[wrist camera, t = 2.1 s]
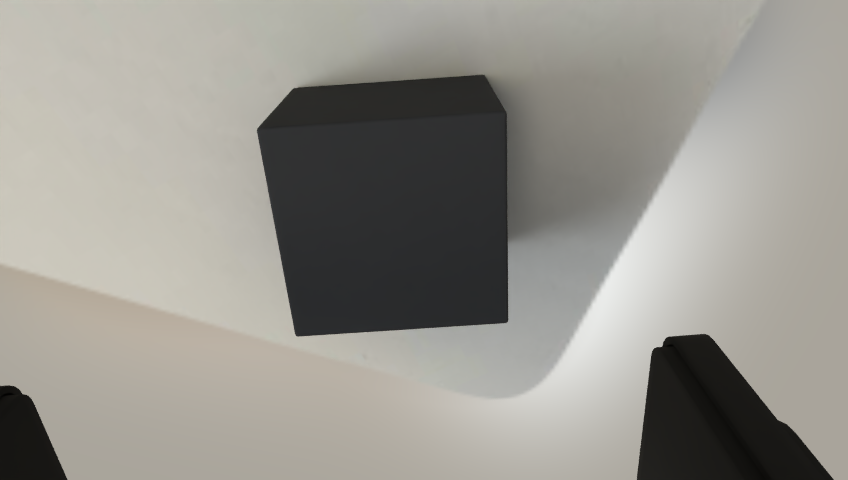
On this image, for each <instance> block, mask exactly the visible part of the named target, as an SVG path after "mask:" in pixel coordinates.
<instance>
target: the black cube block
mask: <svg viewBox="0 0 848 480" xmlns="http://www.w3.org/2000/svg"><path fill="white" fill-rule="evenodd" d="M257 133H258V139H259V144H260V149H261V155H262V160H263V165H264V170H265V176H266V181H267V186H268V192H269V197H270V202H271V208H272V213H273V218H274V224H275V229H276V234H277V240H278V245H279V250H280V255H281V261H282V266H283V271H284V277H285V282H286V287H287V293H288V298H289V303H290V309H291V314H292V319H293V325H294V330H295V334H296V336H312V335H328V334H343V333H359V332H374V331H389V330H405V329H420V328H436V327H451V326H467V325H482V324H497V323H507V322H508V237H507V114H506V111H505V110H504V108H503V106H502V104H501V103H500V101H499V99H498V98H497V96H496V94H495V92H494V91H493V89H492V87H491V86H490V84H489V82H488V81H487V79H486V77H485V76H484V75H475V76H461V77H447V78H433V79H419V80H404V81H390V82H376V83H362V84H348V85H334V86H319V87H305V88H294V89H292V91H291V92H290V93H289V94H288V95H287V96H286V97H285V98H284V99H283V101H282V102H281V103H280V104H279V105H278V106H277V107H276V108H275V110H274V111H273V112H272V113H271V114H270V115H269V116H268V117H267V119H266V120H265V121H264V122H263V123H262V124H261V125H260V126H259V127H258V129H257Z"/></svg>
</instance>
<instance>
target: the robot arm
mask: <svg viewBox="0 0 848 480" xmlns="http://www.w3.org/2000/svg"><path fill="white" fill-rule="evenodd" d="M0 480H67V478H66V476H65V473H64V471H63V469H62V467H61V464H60V462H59V460H58V457H57V455H56V453H55V451H54V448H53V446H52V444H51V441H50V439H49V437H48V435H47V432H46V430H45V428H44V426H43V423H42V421H41V419H40V417H39V414H38V412H37V410H36V407H35V405H34V403H33V401H32V399H31V398H30V397H29V396H27V395H23V394H22V393H21V391H20V390H19V389H18V388H16V387H14V386H0ZM637 480H833V478H832V477H831V476H830V475H829V473H828V472H827V471H826V470H825V468H824V467H823V466H822V465H821V464H820V462H819V461H818V460H817V459H816V457H815V456H814V455H813V454H812V453H811V451H810V450H809V449H808V448H807V446H806V445H805V444H804V443H803V442H802V440H801V439H800V438H799V437H798V435H797V434H796V433H795V432H794V431H793V430H792V429H791V428H790V427H789V426H788V425H787V424H785V423H783V422H781V421H778V420H777V419H776V417H775V416H774V415H773V414H772V413H771V411H770V410H769V409H768V407H767V406H766V405H765V404H764V403H763V401H762V400H761V399H760V398H759V396H758V395H757V394H756V392H755V391H754V390H753V389H752V387H751V386H750V385H749V384H748V382H747V381H746V380H745V379H744V377H743V376H742V375H741V374H740V373H739V371H738V370H737V369H736V368H735V366H734V365H733V364H732V363H731V361H730V360H729V359H728V357H727V356H726V355H725V354H724V353H723V351H722V350H721V349H720V348H719V346H718V345H717V344H716V343H715V341H714V340H713V339H712V338H711V337H710V336H709V335H706V334H700V335H686V336H673V337H667V338H666V339H665V341H664V342H663V346H662V347H657V348H654V349H653V351H652V356H651V363H650V371H649V380H648V388H647V397H646V405H645V415H644V422H643V432H642V440H641V448H640V456H639V466H638V474H637Z"/></svg>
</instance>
